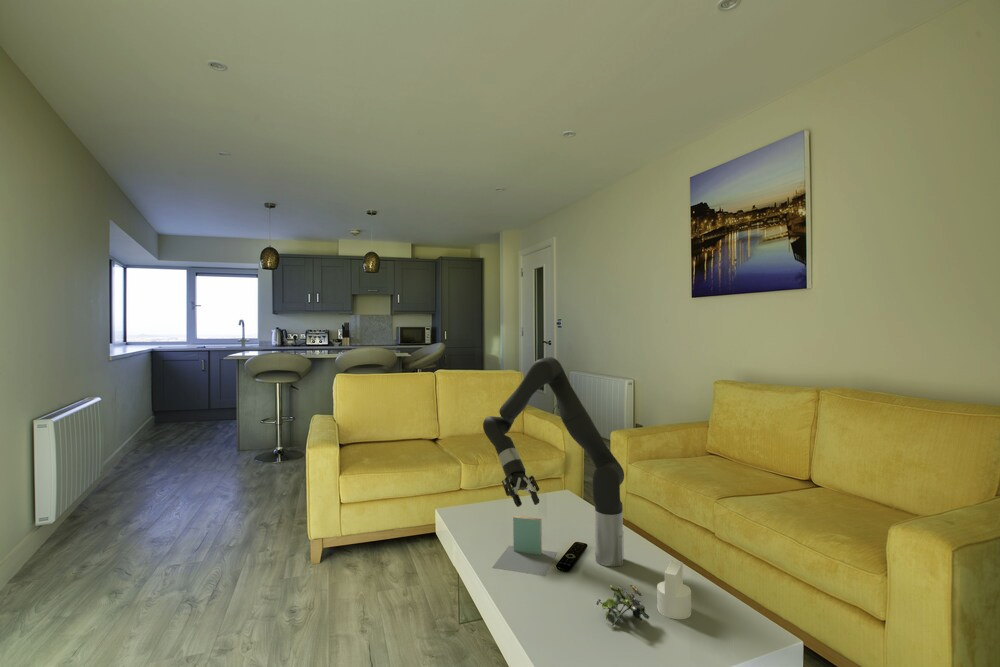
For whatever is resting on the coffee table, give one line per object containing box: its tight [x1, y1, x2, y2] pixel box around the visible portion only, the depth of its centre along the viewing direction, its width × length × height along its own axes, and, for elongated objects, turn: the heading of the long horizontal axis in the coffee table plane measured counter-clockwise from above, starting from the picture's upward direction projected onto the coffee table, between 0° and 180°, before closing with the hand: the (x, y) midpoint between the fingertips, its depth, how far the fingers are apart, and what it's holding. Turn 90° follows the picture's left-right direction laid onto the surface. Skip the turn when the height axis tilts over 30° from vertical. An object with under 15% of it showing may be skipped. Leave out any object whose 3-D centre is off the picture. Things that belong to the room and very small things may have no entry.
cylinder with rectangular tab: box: [656, 559, 692, 620], centre depth 141 cm, size 9×9×12 cm
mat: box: [491, 545, 558, 577], centre depth 172 cm, size 18×18×1 cm
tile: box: [512, 515, 543, 555], centre depth 178 cm, size 10×2×12 cm, turn 71°
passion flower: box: [596, 584, 650, 626], centre depth 136 cm, size 11×11×12 cm
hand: (528, 504), depth 176 cm, fingers open, 8 cm apart
